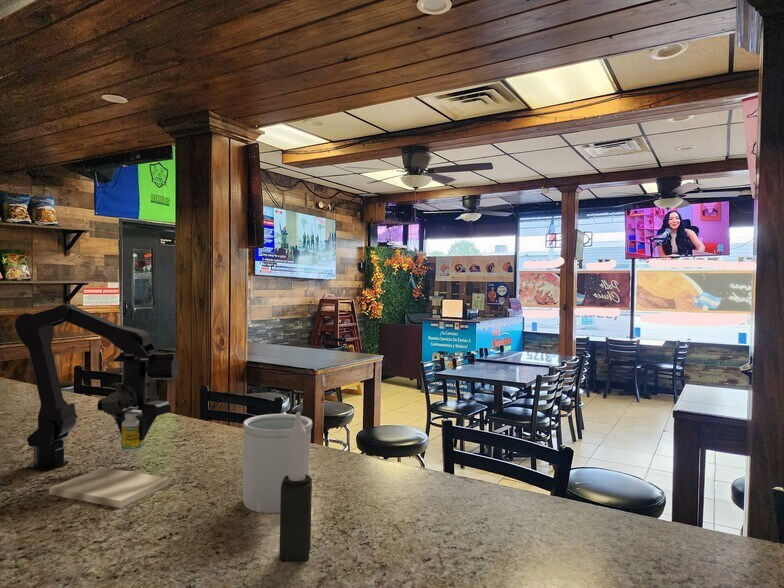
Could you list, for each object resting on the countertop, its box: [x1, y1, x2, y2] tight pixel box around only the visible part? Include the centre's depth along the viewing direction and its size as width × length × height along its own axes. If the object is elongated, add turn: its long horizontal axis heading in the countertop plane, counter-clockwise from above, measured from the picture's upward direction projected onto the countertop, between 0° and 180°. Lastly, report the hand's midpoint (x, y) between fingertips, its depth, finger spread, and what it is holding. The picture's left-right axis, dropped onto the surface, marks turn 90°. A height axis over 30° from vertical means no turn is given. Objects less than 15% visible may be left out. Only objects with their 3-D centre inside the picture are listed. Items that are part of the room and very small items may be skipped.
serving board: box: [48, 466, 170, 509], centre depth 115 cm, size 20×14×2 cm
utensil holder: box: [242, 413, 313, 514], centre depth 111 cm, size 15×15×18 cm
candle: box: [278, 411, 313, 563], centre depth 88 cm, size 5×5×25 cm
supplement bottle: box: [120, 409, 146, 453], centre depth 131 cm, size 5×5×10 cm
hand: (133, 439), depth 131 cm, fingers closed on supplement bottle, 5 cm apart
